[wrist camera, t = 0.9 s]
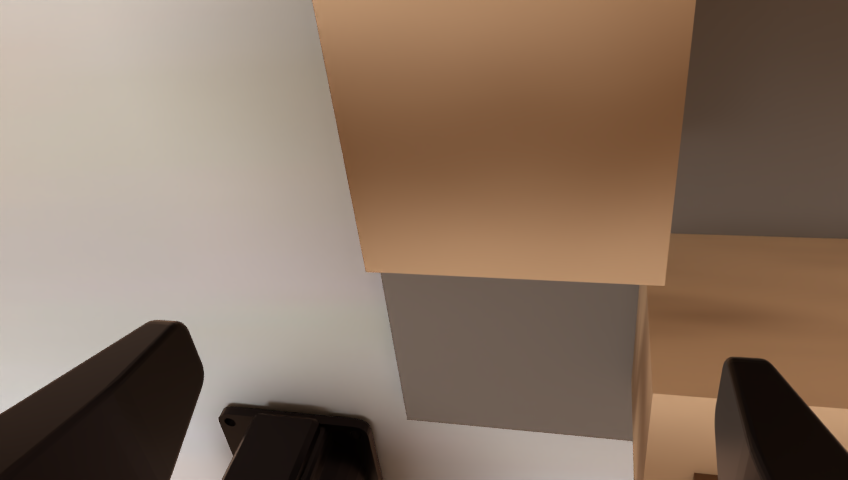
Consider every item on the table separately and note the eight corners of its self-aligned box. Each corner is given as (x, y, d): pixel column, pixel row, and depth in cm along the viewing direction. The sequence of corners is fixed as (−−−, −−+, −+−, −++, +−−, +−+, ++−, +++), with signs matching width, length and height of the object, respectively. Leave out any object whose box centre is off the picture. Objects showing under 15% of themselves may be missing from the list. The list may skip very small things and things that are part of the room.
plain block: (651, 137, 18) (664, 285, 14) (424, 137, 20) (365, 271, 15) (673, -119, 15) (699, -38, 10) (396, -98, 16) (309, -17, 12)
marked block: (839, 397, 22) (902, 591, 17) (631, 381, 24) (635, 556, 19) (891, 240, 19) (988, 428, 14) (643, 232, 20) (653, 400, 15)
